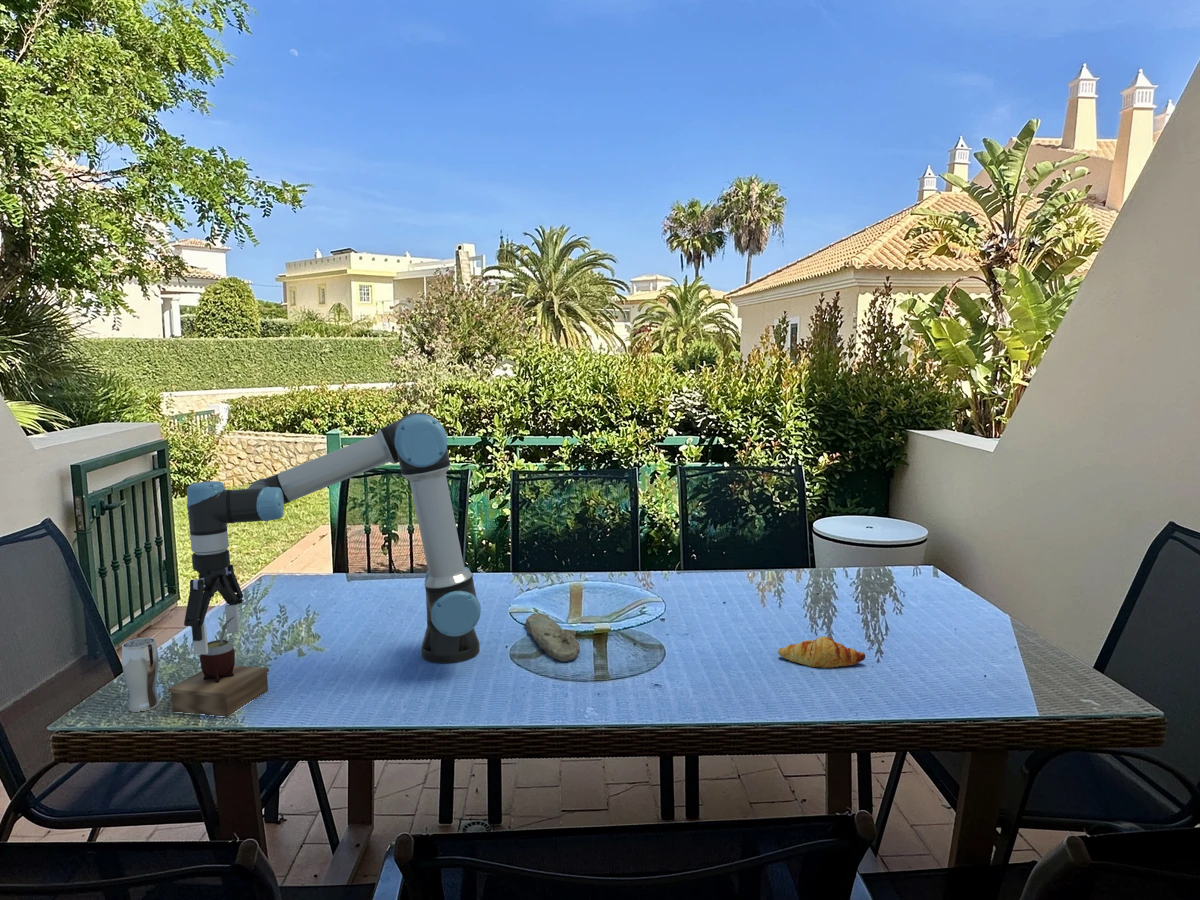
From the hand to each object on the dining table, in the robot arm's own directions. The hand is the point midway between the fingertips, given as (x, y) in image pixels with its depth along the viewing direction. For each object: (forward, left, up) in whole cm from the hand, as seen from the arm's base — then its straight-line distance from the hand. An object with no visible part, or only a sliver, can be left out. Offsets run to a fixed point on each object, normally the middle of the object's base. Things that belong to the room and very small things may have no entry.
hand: (218, 642), depth 173 cm
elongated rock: (-71, -39, -14) cm, 83 cm away
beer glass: (+16, +3, -14) cm, 22 cm away
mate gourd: (0, 0, -8) cm, 8 cm away
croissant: (-141, -24, -14) cm, 144 cm away
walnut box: (0, 0, -14) cm, 14 cm away
